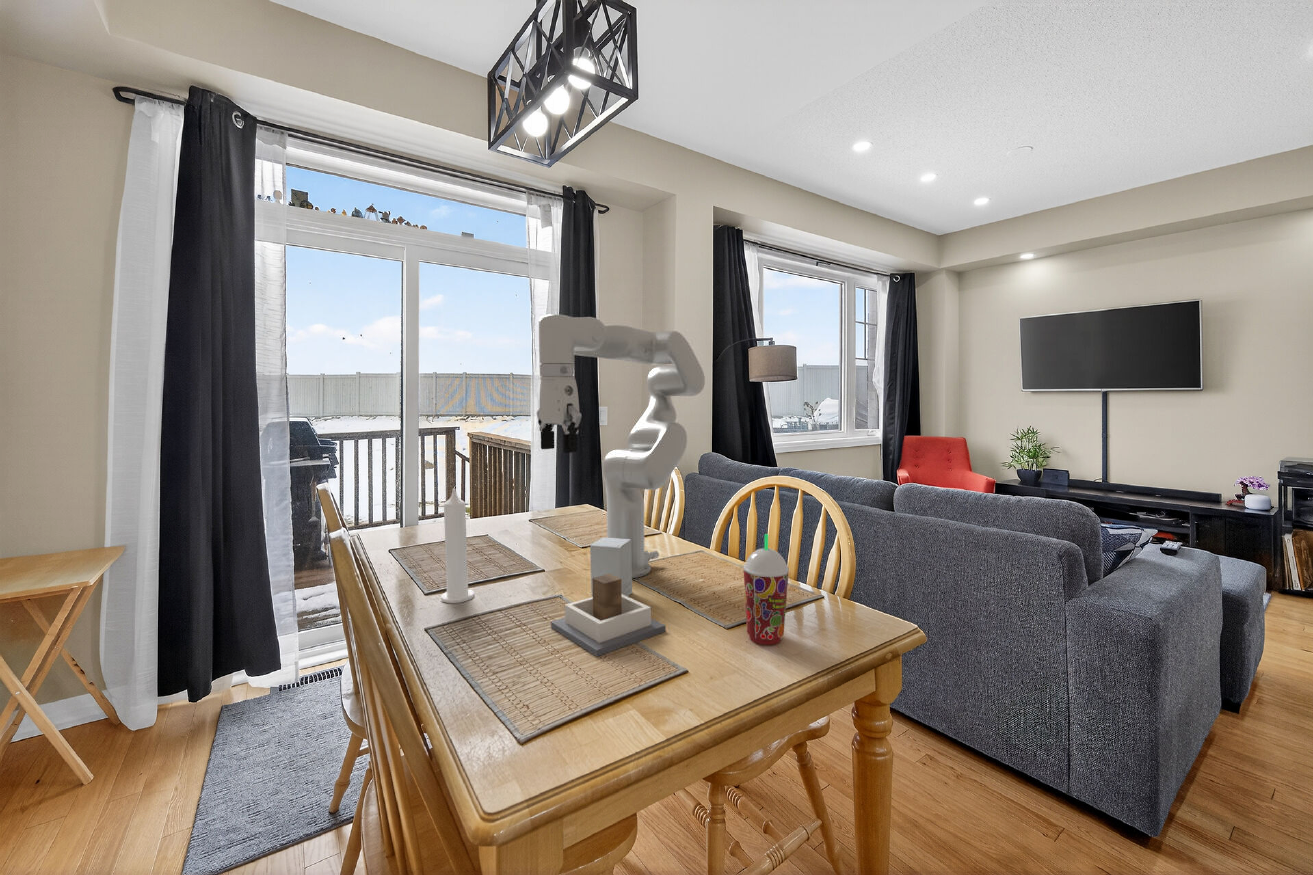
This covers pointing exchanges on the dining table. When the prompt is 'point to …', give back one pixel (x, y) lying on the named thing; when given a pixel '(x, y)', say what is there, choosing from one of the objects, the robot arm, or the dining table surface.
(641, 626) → the collar stand
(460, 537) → the candle
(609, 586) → the block
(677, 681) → the dining table surface
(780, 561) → the smoothie
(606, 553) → the supplement box
